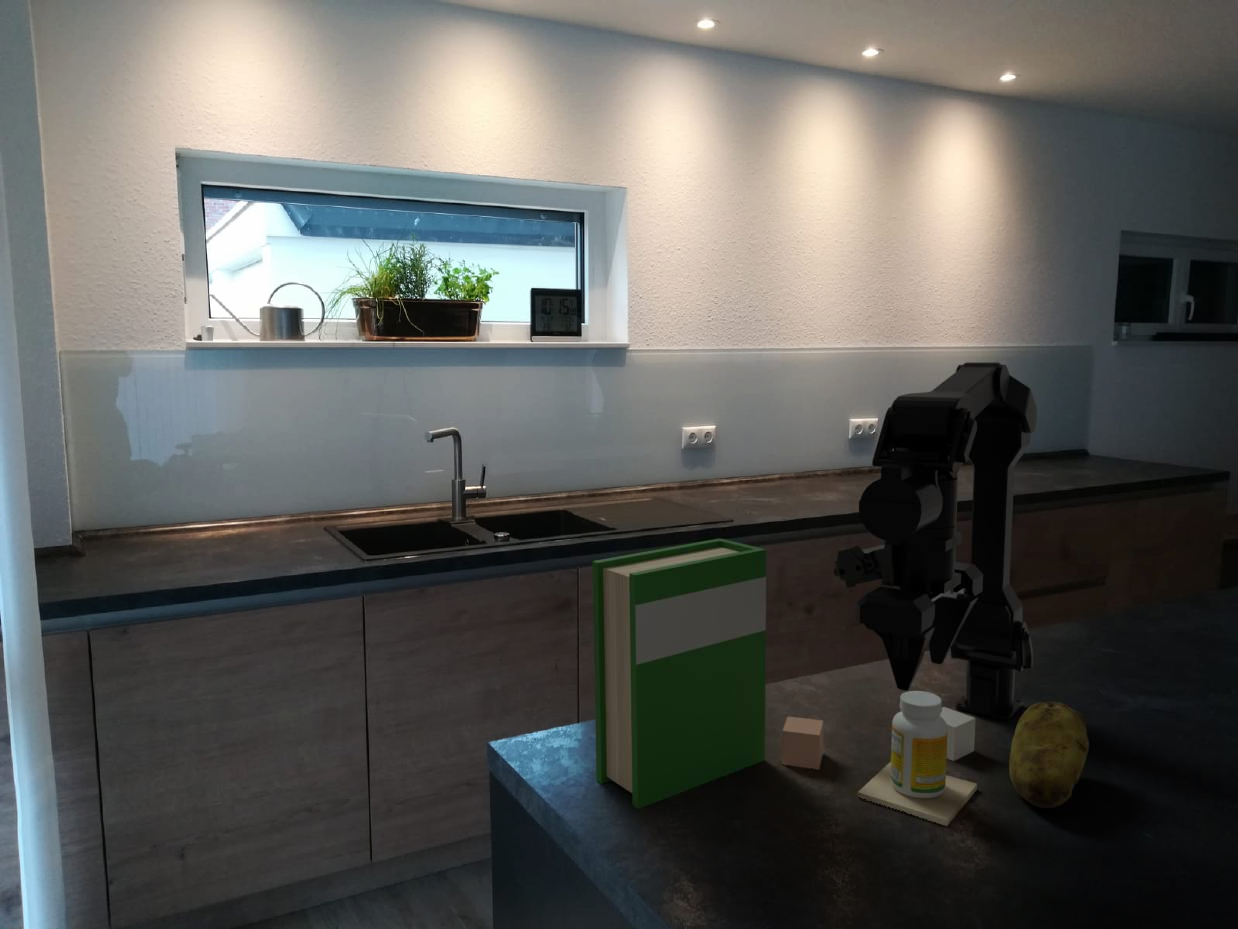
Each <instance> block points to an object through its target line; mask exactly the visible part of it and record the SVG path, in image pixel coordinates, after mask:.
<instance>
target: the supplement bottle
mask: <svg viewBox="0 0 1238 929" xmlns="http://www.w3.org/2000/svg"><path fill="white" fill-rule="evenodd" d="M899 698H900V700H899V709H900V711H899V712H897V713H896V714H895V715H894V717H893V719H892V722H891V723H892V725H891V747H890V748H891V749H890V750H891V751H890V753H891V754H890V762H891V771H890V780H891V784H892V786H893V787H894V788H895V789H896V790H897V791H898V792H900V793H902V794H904V795H906V796H910V797H914V798H935V797H938V796H940V795H941V794H942V793H943V792H944V790H945V783H946V775H947V760H948V759H947V736H948V727H947V724H946V722H945V720H944V719H943V718H942V717H941V716H940V714H941V712H942V707H943V703H942V702H943V701H942V698H941V697H940V696H939V695H937V694H935V693H932V692H928V691H922V690H910V691H909V690H908V691H904V692H903V693H902V694H901V695H900V697H899Z"/></svg>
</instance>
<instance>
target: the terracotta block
mask: <svg viewBox="0 0 1238 929" xmlns="http://www.w3.org/2000/svg"><path fill="white" fill-rule="evenodd" d="M781 731H782V732H781V733H782V734H781V735H782V736H781V738H782V740H781V742H782V743H781V747H782V748H781V765H782V764H784V765H783V766H789V765H790V766H789V767H799V768H804V767H805V769H811V768H813V769H812V770H820V767H821V763H822V758H823V756H824V720H820V719H813V718H812V719H811V718H805V717H793V716H787V717H786V720H785V723H784V726H783V728H782V730H781Z"/></svg>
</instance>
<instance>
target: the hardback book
mask: <svg viewBox="0 0 1238 929" xmlns="http://www.w3.org/2000/svg"><path fill="white" fill-rule="evenodd" d="M592 605H593V606H592V609H593V610H592V611H593V654H594V655H593V658H594V662H593V663H594V667H593V669H594V703H595V704H594V712H595V713H594V715H595V755H596V756H595V758H596V759H595V764H596V765H595V766H596V768H595V769H596V782H598V783H599V784H601V785H603V784H606V783H608V782H609V783H610V782H611V781H612V782H614V783H616V784H618V785H619V786H620V787H622V788H623V789H624V790H626V791H628V792H629V793H631V794H632V795H631V796H632V797H631V798H632V806H633V807H635V808H636V809H637V810H639V809H642V808H644V807H646V806H647V807H648V806H651V805H653V804H655V803H657V802H660V801H663V800H666V799H667V798H670V797H673V796H675V795H678V794H681V793H683V792H686V791H689V790H692V789H694V788H696V787H697V788H698V787H699V786H702V785H704V784H707V783H709V782H712V781H715V780H717V778H718V779H720V778H722V777H726V776H728V775H730V774H729V773H731V774H733V773H735V771H736V772H738V771H741V770H744V769H746V768H748V767H751V766H754V765H757V764H759V763H761V762H764V761H765V760H766V665H767V664H766V660H767V659H766V655H767V654H766V652H767V651H766V649H767V648H766V643H767V642H766V641H767V640H766V636H767V635H766V634H767V633H766V629H767V628H766V627H767V624H766V623H767V619H766V618H767V616H766V615H767V549H765V548H762V547H757V546H753V545H749V544H745V543H741V542H736V541H732V540H729V539H724V538H715V539H710V540H704V541H699V542H692V543H688V544H687V543H686V544H682V545H681V544H680V545H676V546H670V547H665V548H660V549H659V548H658V549H653V550H648V551H642V552H637V553H636V552H635V553H630V554H627V555H625V554H624V555H621V556H614V557H609V558H603V559H598V560H593V561H592ZM763 760H764V761H763ZM756 763H757V764H756ZM745 767H746V768H745ZM737 770H738V771H737ZM719 777H720V778H719ZM711 780H712V781H711ZM701 784H702V785H701Z"/></svg>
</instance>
